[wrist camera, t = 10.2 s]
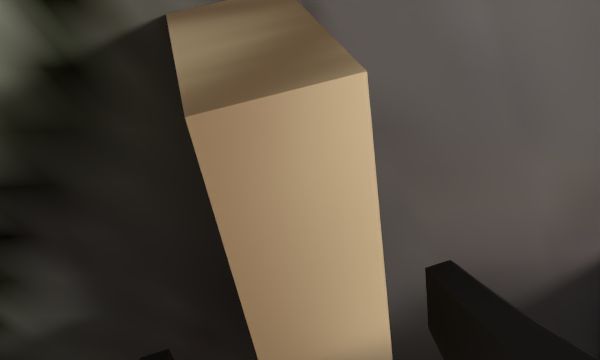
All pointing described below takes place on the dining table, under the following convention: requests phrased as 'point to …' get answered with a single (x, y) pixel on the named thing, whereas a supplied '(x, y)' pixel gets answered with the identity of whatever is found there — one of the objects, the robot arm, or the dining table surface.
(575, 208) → the dining table surface
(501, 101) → the dining table surface
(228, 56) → the blade batten
